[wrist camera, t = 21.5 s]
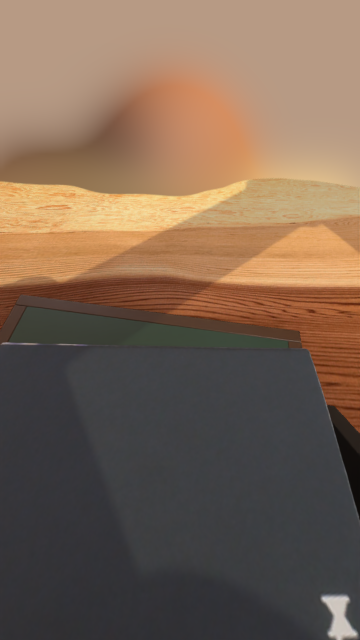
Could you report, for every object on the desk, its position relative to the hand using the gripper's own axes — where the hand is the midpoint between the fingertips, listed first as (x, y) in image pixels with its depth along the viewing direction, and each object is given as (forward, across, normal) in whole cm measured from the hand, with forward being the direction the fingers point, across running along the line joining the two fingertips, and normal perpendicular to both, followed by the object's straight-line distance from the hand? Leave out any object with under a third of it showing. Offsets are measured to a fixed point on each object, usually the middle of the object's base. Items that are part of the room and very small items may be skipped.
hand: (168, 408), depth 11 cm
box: (+1, 0, -5) cm, 5 cm away
